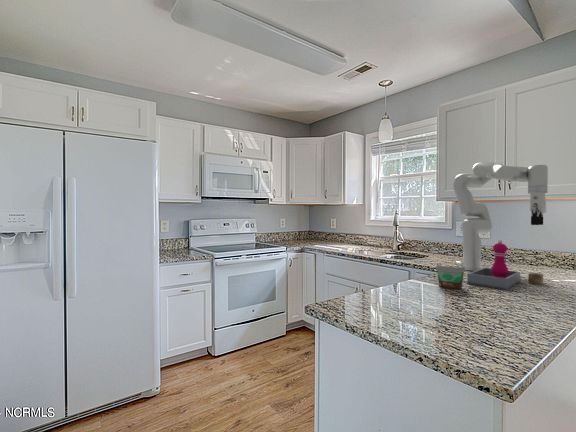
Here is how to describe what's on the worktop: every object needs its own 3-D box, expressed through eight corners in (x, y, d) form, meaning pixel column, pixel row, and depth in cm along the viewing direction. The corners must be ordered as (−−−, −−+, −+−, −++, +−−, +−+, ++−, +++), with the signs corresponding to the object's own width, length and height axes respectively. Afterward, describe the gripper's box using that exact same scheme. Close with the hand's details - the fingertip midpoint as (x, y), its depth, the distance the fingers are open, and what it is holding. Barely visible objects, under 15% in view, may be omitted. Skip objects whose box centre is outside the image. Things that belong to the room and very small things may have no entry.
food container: (434, 288, 140) (435, 266, 140) (435, 285, 146) (435, 264, 146) (465, 291, 134) (466, 268, 134) (465, 288, 140) (465, 266, 140)
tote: (467, 283, 150) (467, 273, 150) (483, 276, 167) (484, 267, 167) (506, 290, 138) (506, 279, 138) (520, 281, 155) (520, 272, 155)
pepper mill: (507, 281, 151) (508, 241, 150) (490, 279, 155) (491, 240, 155) (508, 279, 156) (509, 240, 156) (491, 277, 161) (492, 239, 161)
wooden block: (528, 283, 152) (528, 273, 152) (530, 282, 155) (530, 272, 155) (541, 285, 148) (541, 275, 148) (543, 283, 152) (543, 273, 152)
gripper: (544, 188, 143) (543, 225, 143) (550, 190, 154) (549, 224, 154) (524, 189, 148) (523, 224, 148) (531, 191, 160) (531, 224, 160)
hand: (537, 224), depth 151 cm, fingers open, 9 cm apart
